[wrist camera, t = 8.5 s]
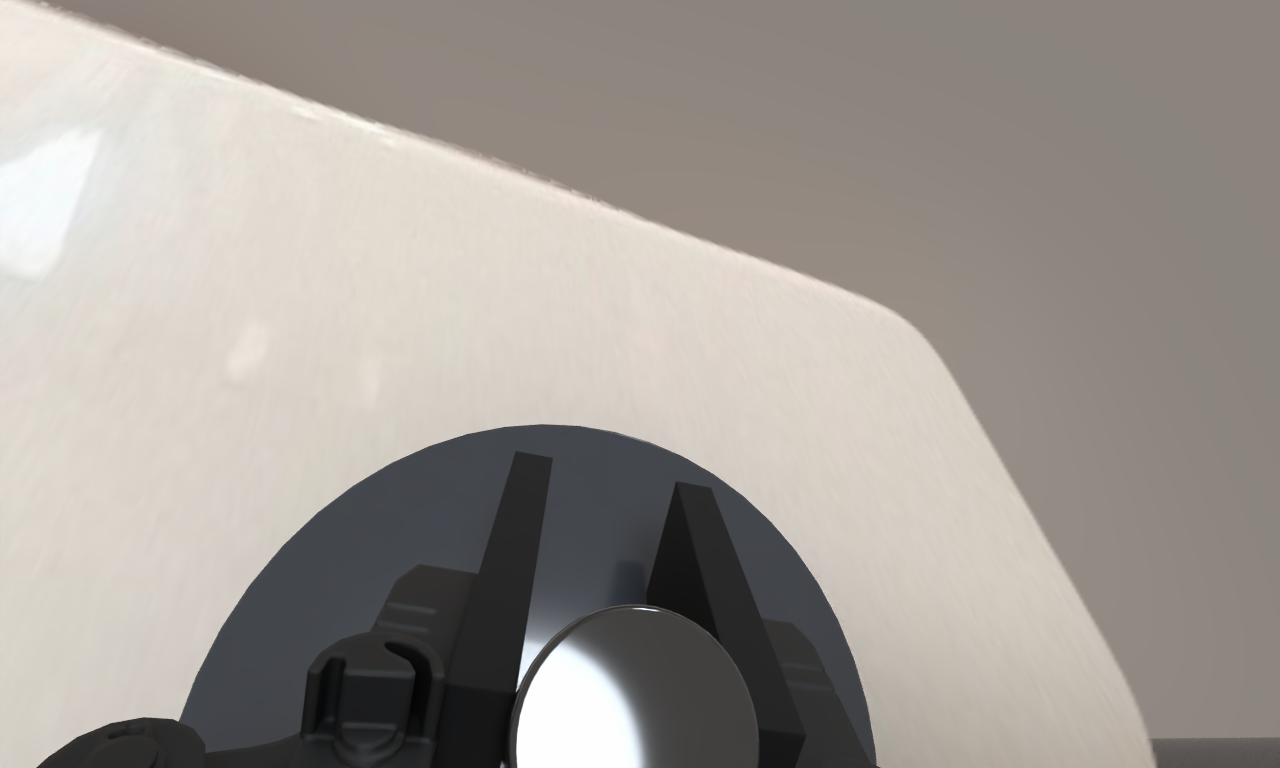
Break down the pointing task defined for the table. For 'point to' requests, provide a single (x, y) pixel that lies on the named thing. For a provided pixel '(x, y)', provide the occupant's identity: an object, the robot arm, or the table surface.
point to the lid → (559, 608)
